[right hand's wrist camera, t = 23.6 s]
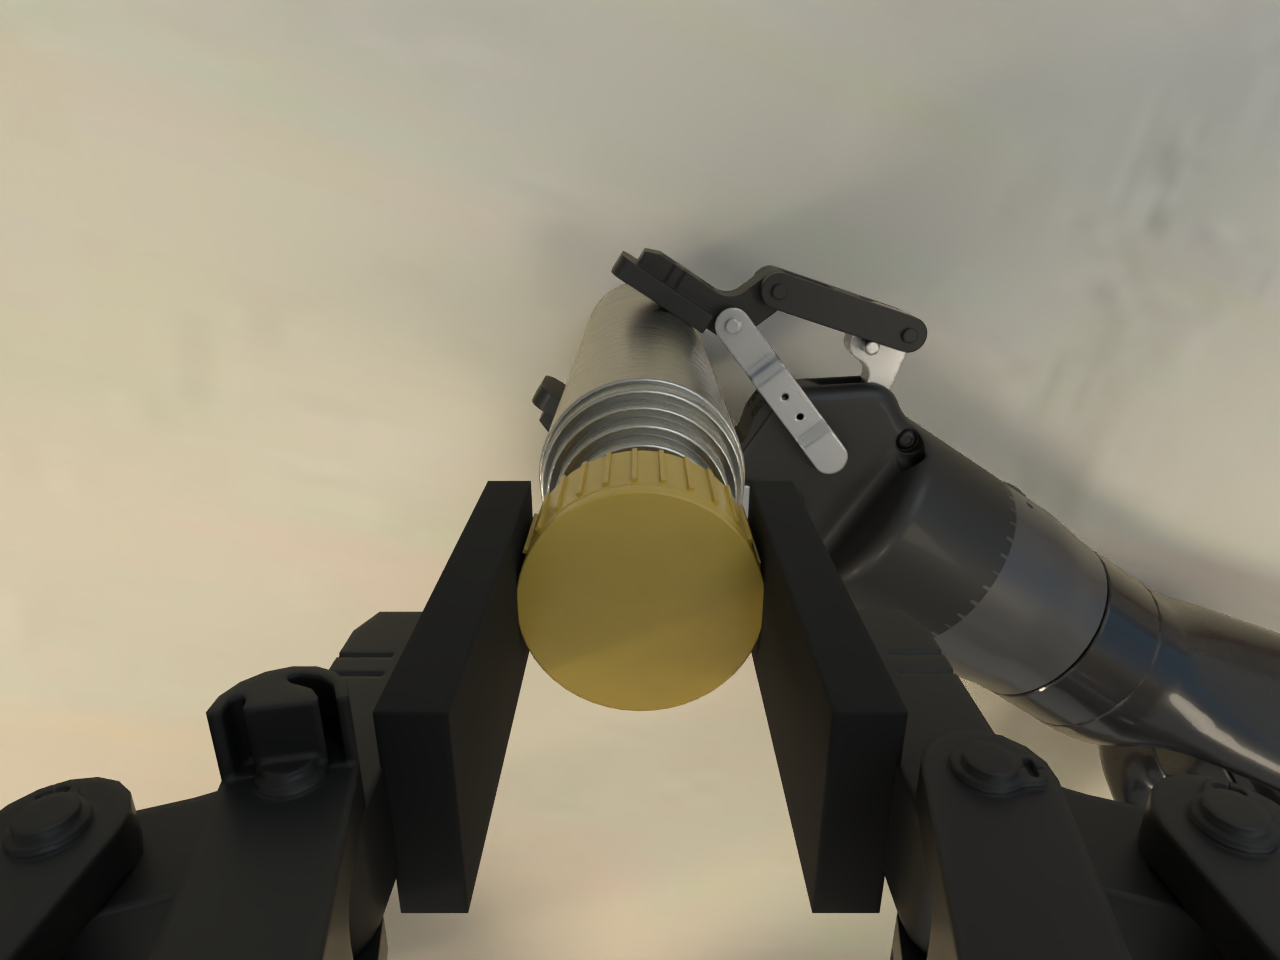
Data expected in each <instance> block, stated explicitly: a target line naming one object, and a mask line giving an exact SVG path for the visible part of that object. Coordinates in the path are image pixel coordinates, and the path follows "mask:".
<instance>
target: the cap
mask: <svg viewBox="0 0 1280 960" xmlns="http://www.w3.org/2000/svg"><path fill="white" fill-rule="evenodd" d="M522 553H524V554H525V557H524V561H523V564H522V567H521V570H520V574H519V578H518V583H517V601H518V617H519V627H520V630H521V633H522V636H523V638H524V640H525V643H526V645H527V647H528V649H529V650H530V652H531V654H532V655H533V657H534V659H535V660H536V661H537V662H538V664H539V665H540V666H541V667H542V669H543V670H544V671H545V672H546V673H547V674H548V675H549V676H550V677H551V678H552V679H553V680H555V681H556V682H557V683H559V684H560V685H561V686H563V687H564V688H565V689H567V690H568V691H570V692H572V693H574V694H575V695H577V696H579V697H581V698H583V699H586V700H588V701H590V702H593V703H596V704H599V705H603V706H606V707H610V708H616V709H621V710H632V711H651V710H660V709H666V708H671V707H675V706H679V705H683V704H686V703H688V702H691V701H693V700H696V699H698V698H700V697H702V696H704V695H706V694H708V693H710V692H711V691H713V690H714V689H716V688H717V687H719V686H720V685H722V684H723V683H724V682H725V681H727V680H728V679H729V678H730V677H731V676H732V675H733V674H734V673H735V672H736V671H737V670H738V669H739V668H740V667H741V666H742V664H743V663H744V662H745V660H746V659H747V657H748V656H749V654H750V653H751V651H752V650H753V648H754V646H755V644H756V641H757V639H758V637H759V634H760V631H761V625H762V610H763V594H764V580H763V576H762V573H761V569H760V567H761V561H760V558H759V555H758V552H757V548H756V545H755V542H754V539H753V536H752V532H751V529H750V526H749V523H748V520H747V517H746V513H745V510H744V507H743V505H742V504H740V505H738V503H737V502H736V500H735V499H734V497H733V495H732V493H731V489H730V487H729V486H728V484H726V485H725V486H724V485H723V484H722V483H721V482H720V481H719V480H718V479H717V478H716V477H715V476H713V475H712V471H711V470H710V469H709V468H707V469H706V470H705V469H703V468H702V467H701V466H699V465H697V464H695V463H693V462H691V461H689V458H688V457H686V456H684V458H681V457H678V456H675V455H671V454H667V453H664V450H660V449H659V452H655V451H644V450H643V451H637V448H632V451H626V452H620V453H614V454H611V452H608V453H606V456H604V457H600V458H598V459H595V460H593V461H591V462H589V463H587V461H584V462H583V463H582V466H581V467H580V468H578V469H576V470H575V471H573V472H572V473H571V474H569V475H568V476H567V477H566V476H565V475H563V476H562V477H561V480H560V483H559V484H558V485H557V486H556V487H555V488H554V489H553V491H552V492H551V493H550V494H549V493H546V495H545V497H544V500H543V503H542V507H541V510H540V511H539V513H538V514H536V513H535V514H534V517H533V520H532V523H531V526H530V529H529V532H528V536H527V539H526V542H525V545H524V548H523V552H522Z"/></svg>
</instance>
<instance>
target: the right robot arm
mask: <svg viewBox="0 0 1280 960" xmlns="http://www.w3.org/2000/svg"><path fill="white" fill-rule="evenodd" d="M532 520H533V515H532V496H531V481H488V482H487V484H486V486H485V488H484V490H483V492H482V494H481V496H480V498H479V500H478V502H477V504H476V506H475V508H474V510H473V512H472V514H471V516H470V518H469V520H468V522H467V524H466V526H465V528H464V530H463V532H462V534H461V536H460V538H459V540H458V542H457V544H456V546H455V548H454V550H453V552H452V554H451V556H450V558H449V560H448V562H447V564H446V566H445V568H444V570H443V572H442V574H441V576H440V578H439V580H438V582H437V584H436V586H435V588H434V590H433V592H432V594H431V596H430V598H429V600H428V602H427V604H426V606H425V608H424V610H423V612H379V613H378V614H376V615H375V616H373V617H372V618H371V619H369V620H368V621H366V622H365V623H364V624H362V625H361V626H360V627H358V628H357V629H355V630H354V631H353V632H352V634H351V636H350V637H349V639H348V640H347V642H346V643H345V645H344V647H343V648H342V650H341V651H340V653H339V657H337V658H336V659H335V661H334V662H333V664H332V666H331V667H330V669H329V670H327V669H324V668H320V667H317V666H292V667H287V668H282V669H277V670H272V671H268V672H264V673H262V674H259V675H257V676H254V677H252V678H249V679H247V680H244V681H242V682H240V683H238V684H237V685H235V686H234V687H232V688H231V689H229V690H228V691H226V692H225V693H223V694H222V695H220V696H219V697H218V698H217V699H216V701H215V702H214V703H213V704H212V706H211V707H210V708H209V709H208V711H207V712H206V715H207V719H208V723H209V728H210V732H211V736H212V741H213V745H214V749H215V754H216V758H217V762H218V767H219V771H220V775H221V780H222V782H221V784H220V786H219V789H218V791H216V792H213V793H209V794H206V795H202V796H199V797H195V798H191V799H187V800H183V801H178V802H174V803H169V804H165V805H160V806H156V807H151V808H147V809H142V810H138V811H136V810H135V806H134V803H133V799H132V795H131V792H130V791H129V790H128V789H127V788H126V787H124V786H123V785H122V784H121V783H120V782H119V781H115V780H110V779H105V778H100V777H94V778H83V779H73V780H68V781H65V782H61V783H57V784H55V785H51V786H48V787H45V788H42V789H39V790H37V791H35V792H33V793H31V794H29V795H27V796H25V797H23V798H21V799H19V800H17V801H15V802H13V803H11V804H9V805H7V806H6V807H5V808H3V809H2V810H0V960H387V951H388V947H387V939H386V931H385V925H384V918H383V914H384V912H385V909H386V906H387V903H388V900H389V897H390V894H391V891H392V889H393V886H394V883H395V880H396V881H397V888H398V895H399V902H400V909H401V913H468V911H469V907H470V903H471V899H472V894H473V890H474V886H475V881H476V877H477V873H478V869H479V864H480V860H481V856H482V851H483V847H484V843H485V839H486V834H487V830H488V826H489V821H490V817H491V813H492V809H493V804H494V800H495V796H496V791H497V787H498V783H499V779H500V774H501V770H502V766H503V762H504V757H505V753H506V749H507V744H508V740H509V736H510V732H511V727H512V723H513V719H514V714H515V710H516V706H517V702H518V697H519V693H520V689H521V684H522V680H523V676H524V672H525V667H526V663H527V659H528V654H529V649H528V647H527V645H526V643H525V640H524V638H523V636H522V633H521V630H520V627H519V617H518V601H517V583H518V578H519V574H520V570H521V567H522V564H523V561H524V557H525V554H524V553H522V552H523V548H524V545H525V542H526V539H527V536H528V532H529V529H530V526H531V523H532ZM748 523H749V526H750V529H751V532H752V536H753V539H754V542H755V545H756V548H757V552H758V555H759V558H760V561H761V567H760V569H761V573H762V576H763V580H764V594H763V610H762V625H761V631H760V634H759V637H758V639H757V641H756V644H755V646H754V648H753V650H752V651H751V652H752V657H753V661H754V665H755V669H756V674H757V678H758V682H759V687H760V691H761V695H762V699H763V704H764V708H765V712H766V717H767V721H768V725H769V729H770V734H771V738H772V742H773V746H774V751H775V755H776V759H777V764H778V768H779V772H780V776H781V781H782V785H783V789H784V794H785V798H786V802H787V806H788V811H789V815H790V819H791V824H792V828H793V832H794V836H795V841H796V845H797V849H798V853H799V858H800V862H801V866H802V871H803V875H804V879H805V883H806V888H807V892H808V896H809V901H810V905H811V909H812V913H879V912H880V905H881V898H882V891H883V884H884V877H886V880H887V883H888V886H889V889H890V892H891V894H892V897H893V900H894V903H895V906H896V909H897V918H896V925H895V931H894V938H893V944H892V951H891V957H890V960H1280V805H1278V804H1277V803H1275V802H1274V801H1272V800H1270V799H1268V798H1266V797H1264V796H1262V795H1260V794H1258V793H1256V792H1254V791H1252V790H1250V789H1248V788H1246V787H1244V786H1242V785H1238V784H1236V783H1233V782H1228V781H1226V780H1222V779H1219V778H1215V777H1212V776H1203V775H1192V774H1180V775H1175V776H1170V777H1165V778H1162V779H1161V780H1160V781H1159V782H1158V783H1157V784H1156V785H1155V786H1153V787H1152V788H1151V791H1150V794H1149V798H1148V801H1147V805H1146V808H1145V807H1141V806H1136V805H1131V804H1127V803H1122V802H1118V801H1113V800H1109V799H1104V798H1100V797H1095V796H1091V795H1087V794H1083V793H1080V792H1076V791H1073V790H1069V789H1066V788H1063V787H1061V785H1060V783H1059V780H1058V779H1057V777H1056V776H1055V774H1054V773H1053V771H1052V770H1051V769H1050V767H1049V766H1048V764H1047V763H1046V762H1045V761H1044V760H1043V759H1041V758H1040V757H1039V756H1037V755H1036V754H1035V753H1033V752H1032V751H1031V750H1030V749H1028V748H1027V747H1025V746H1023V745H1021V744H1019V743H1017V742H1014V741H1012V740H1010V739H1008V738H1006V737H1004V736H1001V735H997V734H995V733H994V732H993V730H992V729H991V727H990V726H989V724H988V723H987V721H986V719H985V718H984V716H983V715H982V713H981V712H980V710H979V708H978V707H977V705H976V704H975V702H974V701H973V699H972V697H971V696H970V694H969V693H968V691H967V690H966V688H965V686H964V685H963V683H962V682H961V680H960V679H959V677H958V675H957V674H954V673H953V668H952V666H951V664H950V663H949V661H948V660H947V658H946V657H945V655H942V653H941V651H942V650H941V649H940V647H939V646H938V644H937V642H936V641H935V639H934V638H933V636H932V635H931V633H930V631H929V630H928V628H926V627H925V626H924V625H922V624H921V623H919V622H918V621H917V620H915V619H914V618H912V617H911V616H910V615H908V614H907V613H905V612H904V611H903V610H901V609H856V607H855V605H854V603H853V601H852V599H851V597H850V595H849V593H848V591H847V589H846V587H845V585H844V583H843V581H842V579H841V577H840V575H839V573H838V571H837V569H836V567H835V565H834V563H833V561H832V559H831V557H830V555H829V553H828V551H827V549H826V547H825V545H824V543H823V541H822V539H821V537H820V535H819V533H818V531H817V529H816V527H815V525H814V523H813V521H812V519H811V517H810V515H809V513H808V511H807V509H806V507H805V505H804V503H803V501H802V499H801V497H800V495H799V493H798V491H797V489H796V487H795V485H794V483H793V481H750V487H749V506H748Z"/></svg>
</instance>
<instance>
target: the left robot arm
mask: <svg viewBox="0 0 1280 960" xmlns="http://www.w3.org/2000/svg"><path fill="white" fill-rule="evenodd" d="M611 272H612V273H613V274H614V275H615V276H616V277H618V278H619V279H621V280H622V281H623V282H625V283H627V284H628V285H630V286H631V287H633V288H634V289H636V290H637V291H639V292H640V293H642V294H643V295H645V296H646V297H648V298H649V299H651V300H652V301H654V302H655V303H657V304H658V305H660V306H662V307H663V308H665V309H666V310H668V311H669V312H671V313H672V314H674V315H676V316H678V317H679V318H680V319H682V320H683V321H685V322H686V323H687V324H689V325H690V326H692V327H693V328H695V329H697V330H698V331H700V332H701V333H703V332H704V331H705V329H706V328H707V329H708V330H710V331H712V332H713V333H715V334H716V335H718V337H719V338H720V339H721V341H722V342H723V343H724V345H725V346H726V347H727V349H728V350H729V351H730V353H731V354H732V355H733V357H734V358H735V359H736V361H737V362H738V363H739V365H740V366H741V367H742V369H743V370H744V371H745V373H746V374H747V375H748V377H749V378H750V380H751V381H752V383H753V384H754V385H755V387H756V388H757V389H756V391H755V392H754V394H753V395H752V396H751V398H750V399H749V401H748V402H747V403H746V405H745V408H744V411H743V413H742V416H741V419H740V421H739V423H738V425H737V426H735V427H734V429H735V431H736V434H737V437H738V439H739V442H740V445H741V449H742V452H743V456H744V463H745V485H744V493H743V499H742V505H743V507H744V510H745V513H746V517H747V520H748V506H749V487H750V481H793V483H794V485H795V487H796V489H797V491H798V493H799V495H800V497H801V499H802V501H803V503H804V505H805V507H806V509H807V511H808V513H809V515H810V517H811V519H812V521H813V523H814V525H815V527H816V529H817V531H818V533H819V535H820V537H821V539H822V541H823V543H824V545H825V547H826V549H827V551H828V553H829V555H830V557H831V559H832V561H833V563H834V565H835V567H836V569H837V571H838V573H839V575H840V577H841V579H842V581H843V583H844V585H845V587H846V589H847V591H848V593H849V595H850V597H851V599H852V601H853V603H854V605H855V607H856V609H901V610H903V611H904V612H905V613H907V614H908V615H910V616H911V617H912V618H914V619H915V620H917V621H918V622H919V623H921V624H922V625H924V626H925V627H926V628H928V630H929V631H930V633H931V635H932V636H933V638H934V639H935V641H936V642H937V644H938V646H939V647H940V649H941V650H942V651H941V653H942V655H945V657H946V658H947V660H948V661H949V663H950V664H951V666H952V668H953V673H954V674H957V675H958V676H959V677H961V678H964V679H966V680H969V681H971V682H974V683H976V684H978V685H980V686H982V687H984V688H986V689H988V690H990V691H992V692H994V693H995V694H997V695H999V696H1000V697H1002V698H1004V699H1005V700H1007V701H1008V702H1010V703H1012V704H1013V705H1015V706H1017V707H1018V708H1020V709H1022V710H1023V711H1025V712H1027V713H1028V714H1030V715H1032V716H1033V717H1035V718H1036V719H1038V720H1040V721H1041V722H1043V723H1044V724H1046V725H1048V726H1050V727H1052V728H1054V729H1055V730H1058V731H1060V732H1062V733H1064V734H1066V735H1068V736H1071V737H1073V738H1075V739H1078V740H1081V741H1084V742H1088V743H1093V744H1099V754H1100V759H1101V763H1102V768H1103V772H1104V775H1105V778H1106V781H1107V784H1108V786H1109V789H1110V792H1111V794H1112V797H1113V799H1114V801H1118V802H1122V803H1127V804H1131V805H1136V806H1141V807H1145V808H1146V805H1147V801H1148V798H1149V794H1150V791H1151V788H1152V787H1153V786H1155V785H1156V784H1157V783H1158V782H1159V781H1160V780H1161V779H1162V778H1165V777H1170V776H1175V775H1180V774H1192V775H1203V776H1212V777H1215V778H1219V779H1222V780H1226V781H1228V782H1233V783H1236V784H1238V785H1242V786H1244V787H1246V788H1248V789H1250V790H1252V791H1254V792H1256V793H1258V794H1260V795H1262V796H1264V797H1266V798H1268V799H1270V800H1272V801H1274V802H1275V803H1277V804H1278V805H1280V634H1278V633H1275V632H1273V631H1270V630H1267V629H1264V628H1261V627H1259V626H1256V625H1253V624H1250V623H1247V622H1244V621H1241V620H1238V619H1235V618H1233V617H1230V616H1227V615H1224V614H1221V613H1218V612H1215V611H1212V610H1209V609H1206V608H1204V607H1201V606H1197V605H1194V604H1190V603H1186V602H1182V601H1178V600H1175V599H1171V598H1168V597H1165V596H1162V595H1159V594H1157V593H1155V592H1154V591H1152V590H1151V589H1150V588H1148V587H1147V586H1146V585H1144V584H1143V583H1142V582H1140V581H1138V580H1137V579H1135V578H1134V577H1132V576H1131V575H1129V574H1128V573H1126V572H1125V571H1123V570H1122V569H1120V568H1119V567H1117V566H1116V565H1114V564H1113V563H1111V562H1110V561H1108V560H1107V559H1105V558H1104V557H1102V556H1101V555H1099V554H1098V553H1096V552H1095V551H1093V550H1092V549H1091V548H1089V547H1088V546H1087V545H1085V544H1084V543H1083V542H1081V541H1080V540H1079V539H1078V538H1077V537H1076V536H1075V535H1074V534H1073V533H1072V532H1070V531H1069V530H1068V529H1067V528H1066V527H1065V526H1064V525H1063V524H1062V523H1061V522H1059V521H1058V520H1057V519H1056V518H1055V517H1054V516H1052V515H1051V514H1050V513H1048V512H1047V511H1046V510H1044V509H1043V508H1041V507H1040V506H1038V505H1037V504H1035V503H1034V502H1032V501H1031V500H1029V499H1028V498H1026V496H1025V495H1024V494H1023V493H1022V492H1021V491H1020V490H1019V489H1018V488H1016V487H1015V486H1013V485H1011V484H1009V483H1006V482H1002V481H1001V480H999V479H998V478H996V477H995V476H994V475H992V474H991V473H989V472H988V471H986V470H985V469H983V468H982V467H980V466H979V465H977V464H976V463H974V462H973V461H971V460H970V459H968V458H967V457H965V456H964V455H962V454H961V453H959V452H958V451H956V450H955V449H953V448H952V447H950V446H949V445H947V444H946V443H944V442H943V441H941V440H940V439H938V438H937V437H935V436H934V435H932V434H931V433H929V432H928V431H927V430H925V429H924V428H922V427H921V426H919V425H918V424H916V423H915V422H913V421H912V420H910V419H909V418H907V417H906V416H905V415H904V414H903V412H902V411H901V409H900V407H899V404H898V402H897V400H896V398H895V396H894V394H893V393H892V392H891V391H890V389H891V386H892V384H893V382H894V380H895V378H896V375H897V373H898V371H899V369H900V366H901V364H902V362H903V360H904V357H905V355H906V353H908V352H913V351H916V350H918V349H919V348H920V347H921V346H922V345H923V344H924V342H925V340H926V337H927V329H926V326H925V324H924V323H923V322H922V321H921V320H920V319H918V318H916V317H914V316H912V315H910V314H908V313H906V312H904V311H902V310H900V309H898V308H895V307H893V306H890V305H887V304H884V303H881V302H878V301H875V300H872V299H869V298H866V297H863V296H860V295H857V294H854V293H851V292H848V291H846V290H843V289H840V288H837V287H834V286H831V285H828V284H825V283H822V282H819V281H816V280H813V279H810V278H807V277H804V276H801V275H798V274H796V273H793V272H790V271H787V270H784V269H781V268H778V267H775V266H764V267H762V268H760V269H759V270H758V271H757V272H756V273H755V275H754V276H753V277H752V278H751V279H749V280H748V281H747V282H745V283H744V284H743V285H741V286H740V287H739V288H737V289H735V290H732V291H721V290H718V289H716V288H714V287H713V286H711V285H710V284H708V283H707V282H705V281H704V280H702V279H701V278H699V277H698V276H696V275H695V274H693V273H692V272H690V271H689V270H687V269H686V268H684V267H683V266H681V265H680V264H678V263H677V262H675V261H674V260H672V259H671V258H669V257H668V256H667V255H665V254H664V253H662V252H661V251H657V250H652V249H647V248H645V249H644V250H643V252H642V254H641V255H640V257H639V258H638V259H636V258H635V257H633V256H631V255H630V254H628V253H626V252H624V251H623V252H622V253H621V255H620V257H619V258H618V260H617V262H616V263H615V265H614V266H613V268H612V271H611ZM777 310H779V311H782V312H785V313H788V314H791V315H794V316H797V317H800V318H803V319H806V320H809V321H812V322H815V323H818V324H821V325H824V326H826V327H829V328H832V329H835V330H838V331H841V332H844V333H845V336H844V345H845V348H846V349H847V351H848V352H849V353H851V354H852V355H853V356H854V357H856V358H857V359H859V360H860V362H861V364H862V374H861V376H848V377H829V378H810V379H794V378H793V376H792V375H791V374H790V372H789V371H788V370H787V368H786V367H785V365H784V364H783V363H782V361H781V360H780V359H779V357H778V356H777V355H776V353H775V352H774V351H773V349H772V348H771V347H770V345H769V344H768V343H767V341H766V340H765V338H764V337H763V336H762V334H761V333H760V332H759V330H758V329H757V328H756V326H757V325H758V324H760V323H761V322H762V321H764V320H765V319H767V318H768V317H769V316H771V315H772V314H773V313H775V312H776V311H777ZM565 386H566V385H565V384H564V383H562V382H560V381H559V380H557V379H555V378H553V377H551V376H545V378H544V380H543V381H542V383H541V385H540V386H539V388H538V389H537V391H536V393H535V395H534V397H533V399H532V402H533V403H534V405H535V406H537V407H538V408H539V409H541V410H542V411H543V413H542V415H541V418H540V420H539V421H540V422H541V423H542V425H543V426H544V427H545V428H546V430H547V431H548V432H549V430H550V427H551V424H552V422H553V419H554V416H555V414H556V411H557V408H558V405H559V403H560V400H561V397H562V394H563V392H564V389H565Z"/></svg>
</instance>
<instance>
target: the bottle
mask: <svg viewBox="0 0 1280 960" xmlns="http://www.w3.org/2000/svg"><path fill="white" fill-rule="evenodd" d="M632 448H637V451H643V450H644V451H655V452H659V449H660V450H664V453H667V454H671V455H675V456H678V457H681V458H684V456H686V457H688V458H689V461H691V462H693V463H695V464H697V465H699V466H701V467H702V468H703V469H705V470H706V469H707V468H709V469H710V470H711V471H712V475H713V476H715V477H716V478H717V479H718V480H719V481H720V482H721V483H722V484H723V485H724V486H725V485H726V484H728V486H729V487H730V489H731V493H732V495H733V497H734V499H735V500H736V502H737V503H738V505H740V504H742V499H743V493H744V485H745V463H744V456H743V452H742V449H741V445H740V442H739V439H738V437H737V434H736V431H735V429H734V426H733V423H732V421H731V418H730V415H729V413H728V410H727V407H726V405H725V402H724V399H723V397H722V394H721V391H720V389H719V386H718V383H717V381H716V378H715V375H714V373H713V370H712V367H711V364H710V362H709V359H708V356H707V354H706V351H705V348H704V346H703V343H702V340H701V338H700V335H699V332H698V330H697V329H695V328H693V327H692V326H690V325H689V324H687V323H686V322H685V321H683V320H682V319H680V318H679V317H678V316H676V315H674V314H672V313H671V312H669V311H668V310H666V309H665V308H663V307H662V306H660V305H658V304H657V303H655V302H654V301H652V300H651V299H649V298H648V297H646V296H645V295H643V294H642V293H640V292H639V291H637V290H636V289H634V288H633V287H631V286H630V285H628V284H624V285H621V286H619V287H617V288H615V289H614V290H612V291H611V292H609V293H608V294H607V295H606V296H604V297H603V298H602V300H601V301H600V302H599V303H598V305H597V306H596V307H595V309H594V311H593V313H592V315H591V318H590V321H589V323H588V326H587V329H586V332H585V334H584V337H583V340H582V343H581V345H580V348H579V351H578V354H577V356H576V359H575V362H574V364H573V367H572V370H571V373H570V375H569V378H568V381H567V384H566V386H565V389H564V392H563V394H562V397H561V400H560V403H559V405H558V408H557V411H556V414H555V416H554V419H553V422H552V424H551V427H550V430H549V433H548V435H547V438H546V441H545V444H544V447H543V450H542V454H541V459H540V468H539V481H540V490H541V497H542V502H543V500H544V497H545V495H546V493H549V494H550V493H551V492H552V491H553V489H554V488H555V487H556V486H557V485H558V484H559V483H560V480H561V477H562V476H563V475H565V476H566V477H567V476H568V475H569V474H571V473H572V472H573V471H575V470H576V469H578V468H580V467H581V466H582V463H583V462H584V461H587V463H589V462H591V461H593V460H595V459H598V458H600V457H604V456H606V453H608V452H611V454H614V453H620V452H626V451H632Z"/></svg>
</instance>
